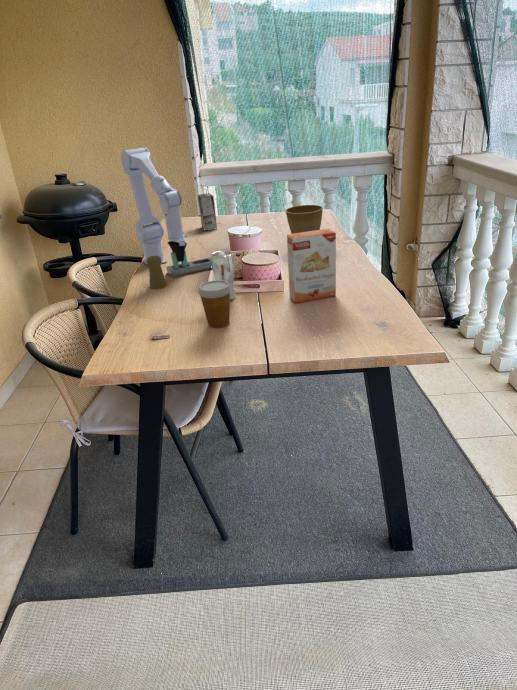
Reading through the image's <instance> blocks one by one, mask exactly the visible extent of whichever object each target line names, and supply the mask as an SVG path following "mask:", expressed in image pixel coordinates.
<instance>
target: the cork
mask: <svg viewBox="0 0 517 690" xmlns="http://www.w3.org/2000/svg"><path fill="white" fill-rule="evenodd" d="M161 262H162V261H161V258H160V257H159V256H150V257H148V258H147V264H146V266H148V272H149V274H148V275H149V288H150V289H152V290H159V288H160V289H164V288H166V287H167V286H166V285H167V282H166V278H165V274H164V272H163V269H162V263H161Z"/></svg>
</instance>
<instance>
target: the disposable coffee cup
mask: <svg viewBox="0 0 517 690" xmlns="http://www.w3.org/2000/svg"><path fill="white" fill-rule="evenodd" d="M230 291H231V287H230V285H229V283H228V282H226V281H222V280H215V279H214V280H210V281H209V280H208V281H206V282H203V283H201V284H200V285H199V287H198V290H197V293H198V295H199V296H200V300H201V302H202V306H203V310H204V313H205V318H206V320H207V324H208V325H207V326H209V327H210V328H215V329H219V328H225V327H227V326H228V325H230V313H231V312H230V311H231V310H230V309H231V308H230V303H231V300H230Z"/></svg>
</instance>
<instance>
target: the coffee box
mask: <svg viewBox="0 0 517 690" xmlns="http://www.w3.org/2000/svg"><path fill="white" fill-rule="evenodd" d="M197 200H198V209H199V216H200V223H201V224H200V225H201V228H202V227H203V228H204V229H205V230H208V231H210V230H209V229H214V230H216V229H215V228H217V229H218V224H217V217H216V206H215V199H214V195H213V194H211V193H210V192H208V193H202V194H197ZM203 228H202V229H203ZM204 229H203V230H204ZM205 230H204V231H205Z"/></svg>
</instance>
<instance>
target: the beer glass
mask: <svg viewBox="0 0 517 690" xmlns="http://www.w3.org/2000/svg"><path fill="white" fill-rule="evenodd" d="M211 258H212V268H211V269H212V274H213V277H214V281H215V280H222V281H226V282H228V283H229V285H230V287H231V291H230V301H232V300H234V299H235V298H236V296H237V295H236V292H235V288H234V287H235V286H234V280H235V277H234V276H235V264H234V258H233V253H232V251H230V250H219V251H218V250H217V251H215V252H213V253H211Z"/></svg>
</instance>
